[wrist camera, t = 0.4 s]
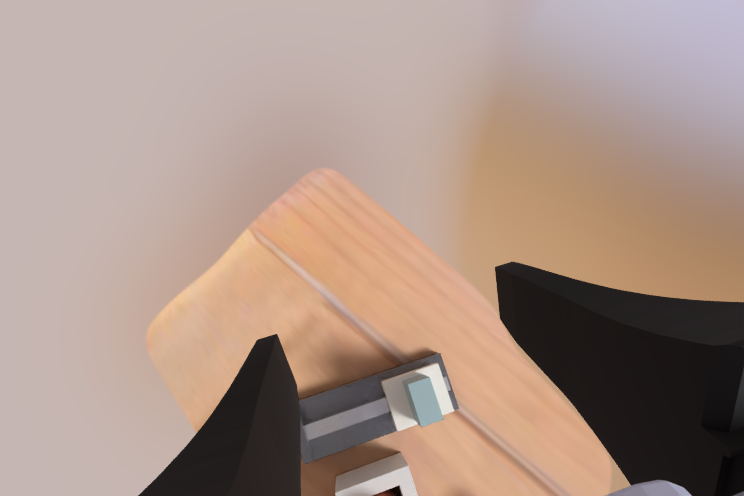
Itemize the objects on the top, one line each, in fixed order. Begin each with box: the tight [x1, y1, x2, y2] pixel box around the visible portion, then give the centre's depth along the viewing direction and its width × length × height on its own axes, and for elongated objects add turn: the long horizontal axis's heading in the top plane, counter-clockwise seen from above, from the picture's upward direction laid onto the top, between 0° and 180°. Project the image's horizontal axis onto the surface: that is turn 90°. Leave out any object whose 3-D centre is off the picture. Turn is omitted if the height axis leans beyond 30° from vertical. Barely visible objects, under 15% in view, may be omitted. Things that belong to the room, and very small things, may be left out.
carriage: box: [381, 363, 454, 431], centre depth 33 cm, size 4×5×5 cm
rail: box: [299, 353, 459, 464], centre depth 35 cm, size 5×14×3 cm, turn 107°
